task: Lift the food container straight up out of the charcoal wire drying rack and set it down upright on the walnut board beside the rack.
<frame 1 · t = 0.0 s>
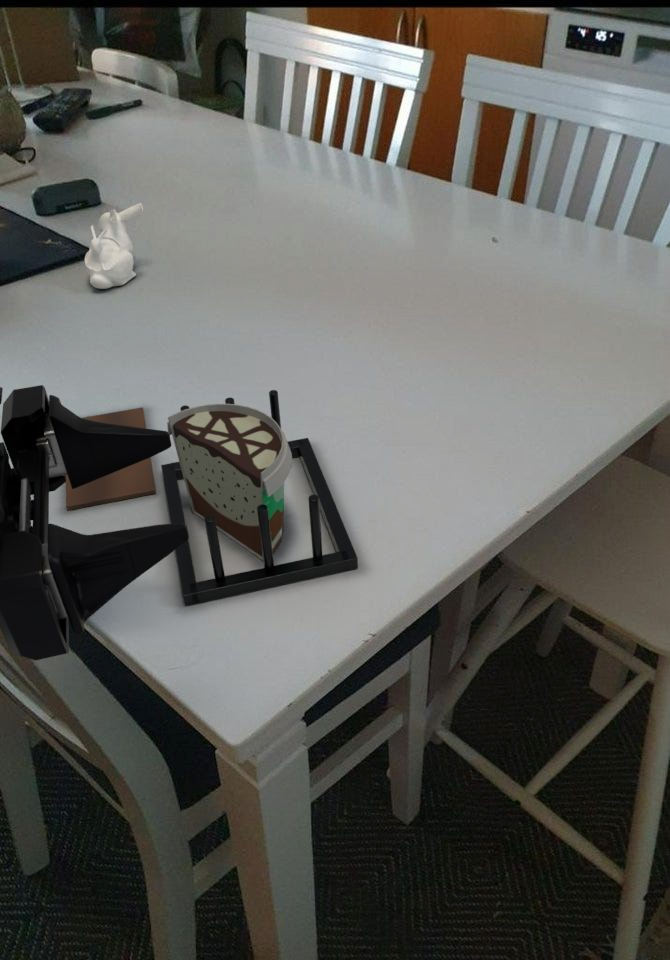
hand: (178, 482, 49), 17 cm above the table, tool horizontal, fingers open, 9 cm apart
walnut board: (108, 457, 79), on the table
food container: (253, 520, 72), resting in drying rack
white sculpted figure: (123, 276, 111), on the table
drying rack: (253, 518, 71), on the table
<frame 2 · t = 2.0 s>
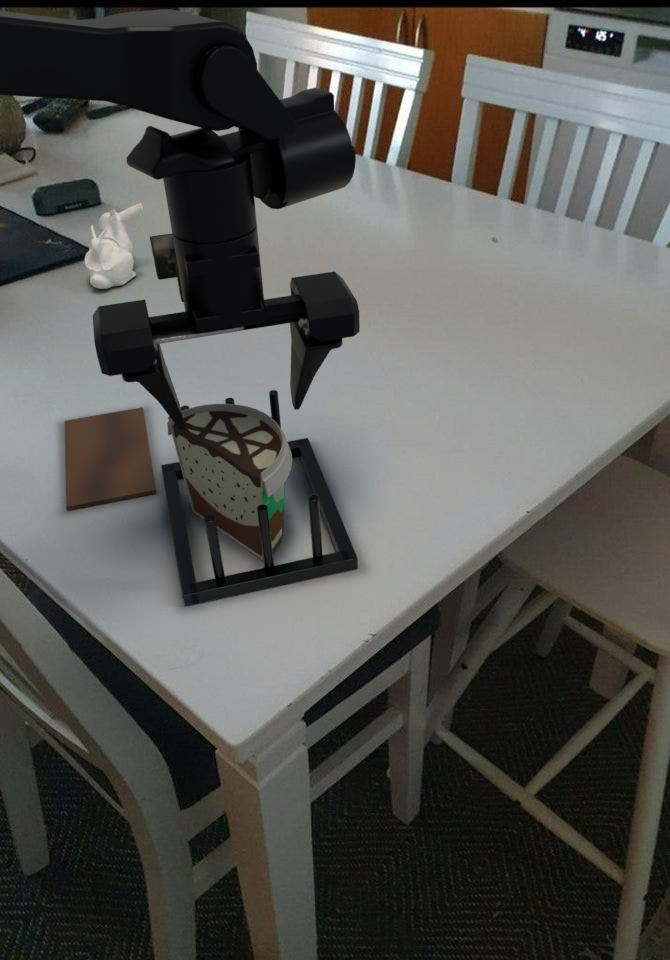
hand: (239, 416, 64), 11 cm above the table, tool pointing down, fingers open, 9 cm apart
nothing on the table moved.
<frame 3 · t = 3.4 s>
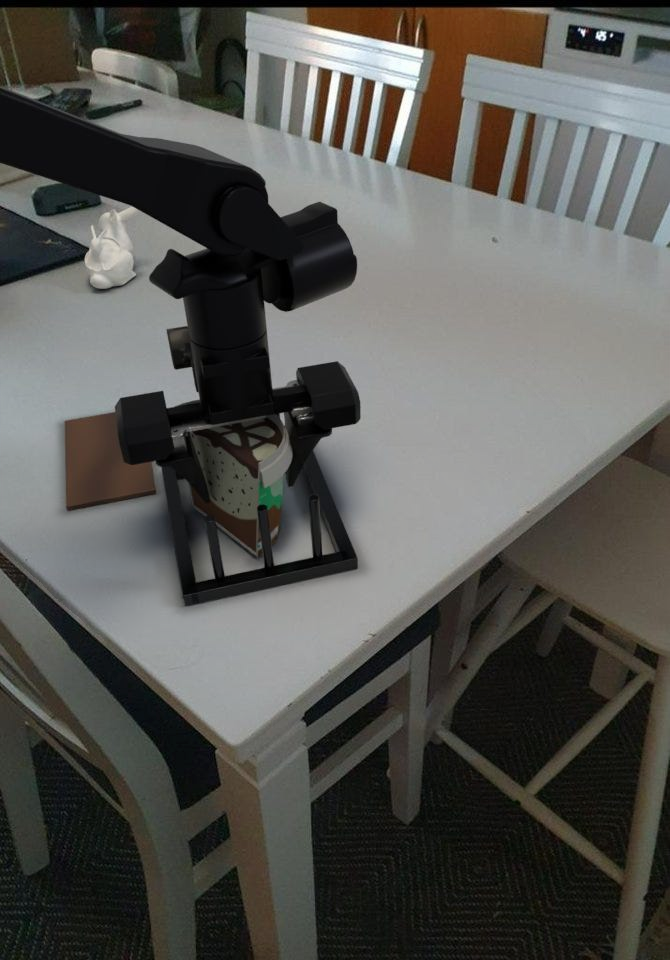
hand: (249, 491, 69), 3 cm above the table, tool pointing down, fingers closed on food container, 7 cm apart
food container: (251, 517, 72), resting in drying rack, touching gripper
everything else where it was.
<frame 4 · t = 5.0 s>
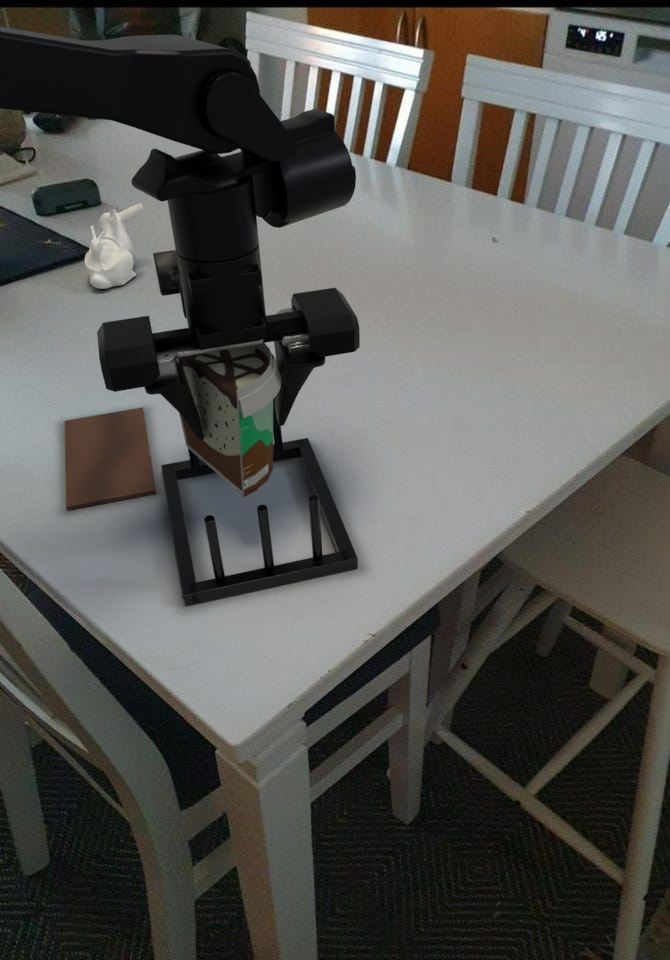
hand: (241, 429, 65), 10 cm above the table, tool pointing down, fingers closed on food container, 6 cm apart
food container: (246, 459, 68), point 6 cm above the table, touching gripper
everything else where it was.
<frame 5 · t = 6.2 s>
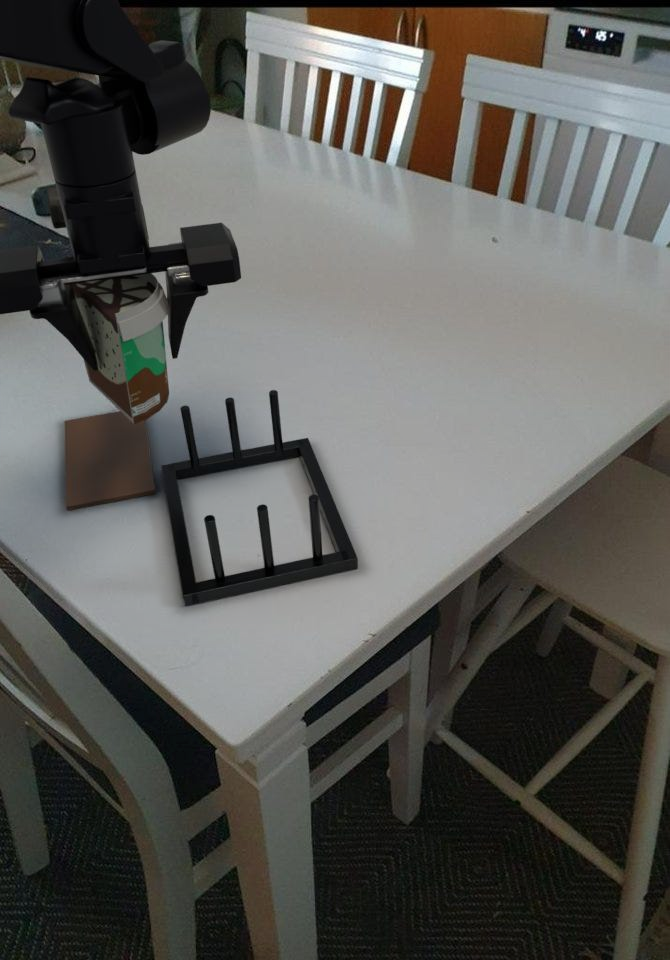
hand: (135, 362, 68), 13 cm above the table, tool pointing down, fingers closed on food container, 6 cm apart
food container: (144, 392, 70), point 9 cm above the table, touching gripper
everything else where it was.
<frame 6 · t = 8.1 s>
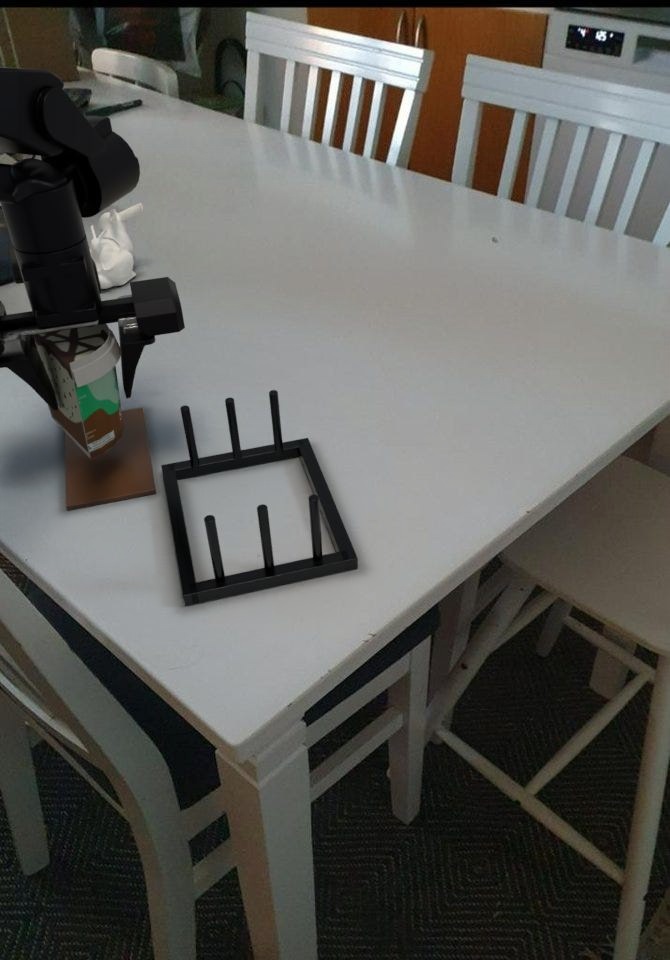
hand: (92, 401, 75), 7 cm above the table, tool pointing down, fingers closed on food container, 6 cm apart
food container: (101, 428, 77), point 3 cm above the table, touching gripper
everything else where it was.
when the fingers open (4 cm above the table, at t = 9.3 s): food container stays where it is, resting on walnut board.
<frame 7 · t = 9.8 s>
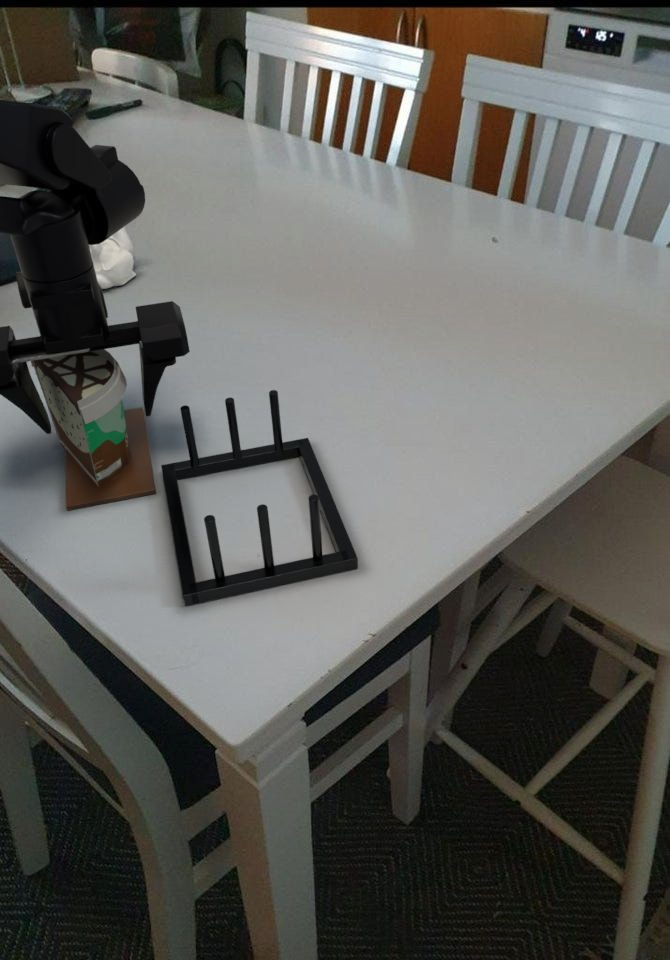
hand: (99, 422, 76), 4 cm above the table, tool pointing down, fingers open, 9 cm apart
food container: (108, 452, 79), resting on walnut board
everything else where it was.
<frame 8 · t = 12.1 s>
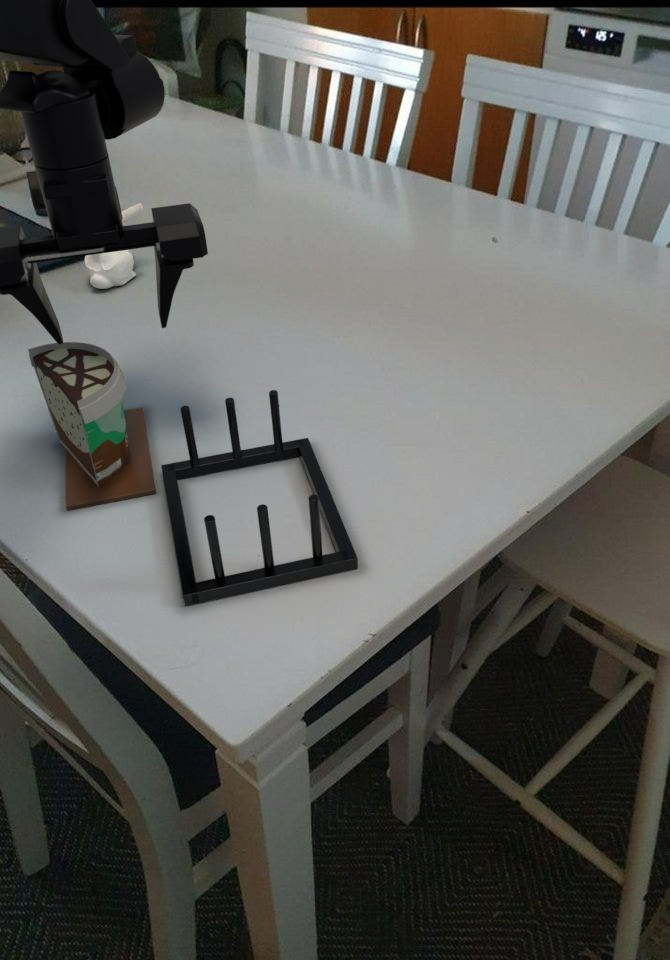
hand: (112, 333, 73), 12 cm above the table, tool pointing down, fingers open, 9 cm apart
nothing on the table moved.
at the end: food container inside the target area on the walnut board (0.4 cm from its centre), point 0.3 cm above the walnut board's base; food container tilted 0°; the gripper is holding nothing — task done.
